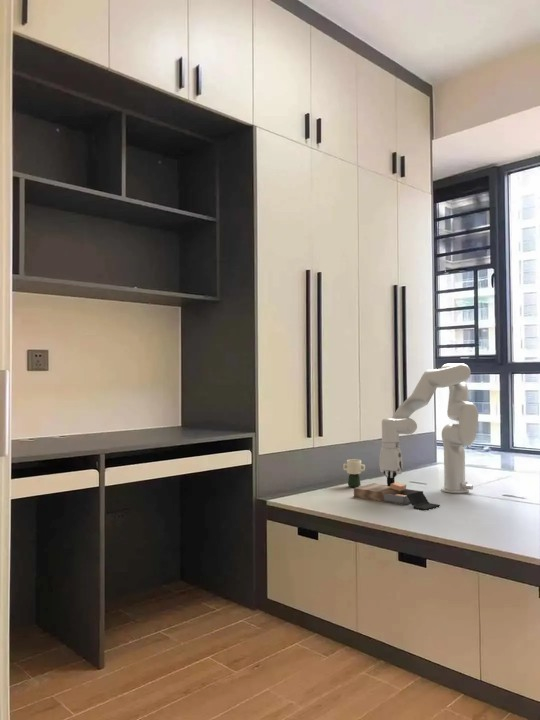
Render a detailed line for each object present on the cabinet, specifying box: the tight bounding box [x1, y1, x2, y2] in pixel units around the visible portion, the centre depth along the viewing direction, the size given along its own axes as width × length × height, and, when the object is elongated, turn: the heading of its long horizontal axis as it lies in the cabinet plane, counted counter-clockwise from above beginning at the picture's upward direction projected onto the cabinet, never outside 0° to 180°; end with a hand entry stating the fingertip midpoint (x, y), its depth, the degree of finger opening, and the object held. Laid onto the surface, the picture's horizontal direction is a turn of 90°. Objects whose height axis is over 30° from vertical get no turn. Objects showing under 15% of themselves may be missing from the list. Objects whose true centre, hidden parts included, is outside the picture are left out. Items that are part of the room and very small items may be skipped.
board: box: [353, 482, 403, 502], centre depth 281 cm, size 16×16×4 cm
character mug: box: [342, 458, 366, 488], centre depth 305 cm, size 11×7×13 cm, turn 71°
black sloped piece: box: [407, 490, 441, 511], centre depth 259 cm, size 12×7×10 cm
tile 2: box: [390, 481, 407, 491], centre depth 279 cm, size 5×5×2 cm
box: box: [383, 488, 424, 506], centre depth 272 cm, size 10×16×4 cm, turn 137°
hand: (390, 486), depth 282 cm, fingers closed
